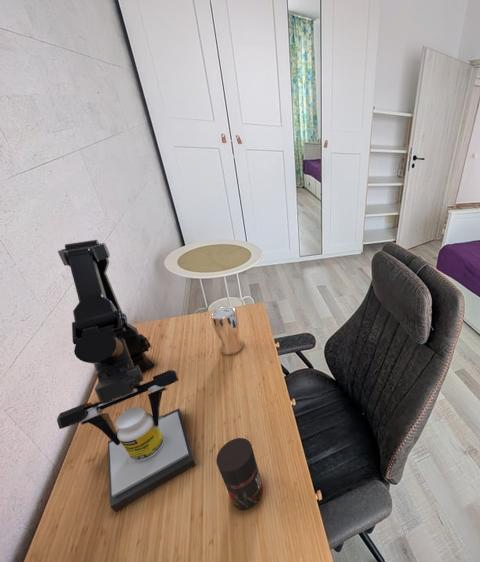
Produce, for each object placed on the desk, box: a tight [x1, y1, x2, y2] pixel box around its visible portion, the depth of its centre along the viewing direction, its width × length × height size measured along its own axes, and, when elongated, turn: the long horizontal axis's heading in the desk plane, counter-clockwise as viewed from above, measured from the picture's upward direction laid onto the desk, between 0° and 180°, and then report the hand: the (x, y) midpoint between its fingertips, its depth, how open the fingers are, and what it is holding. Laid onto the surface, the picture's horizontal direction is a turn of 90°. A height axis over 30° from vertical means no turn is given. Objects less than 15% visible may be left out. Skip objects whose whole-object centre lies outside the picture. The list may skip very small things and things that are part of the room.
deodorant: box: [215, 437, 264, 511], centre depth 55 cm, size 6×6×15 cm
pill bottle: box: [115, 406, 164, 461], centre depth 60 cm, size 6×6×11 cm
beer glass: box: [210, 305, 243, 356], centre depth 90 cm, size 7×7×15 cm
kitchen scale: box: [107, 408, 197, 513], centre depth 63 cm, size 16×14×3 cm
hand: (138, 435), depth 59 cm, fingers closed on pill bottle, 6 cm apart
